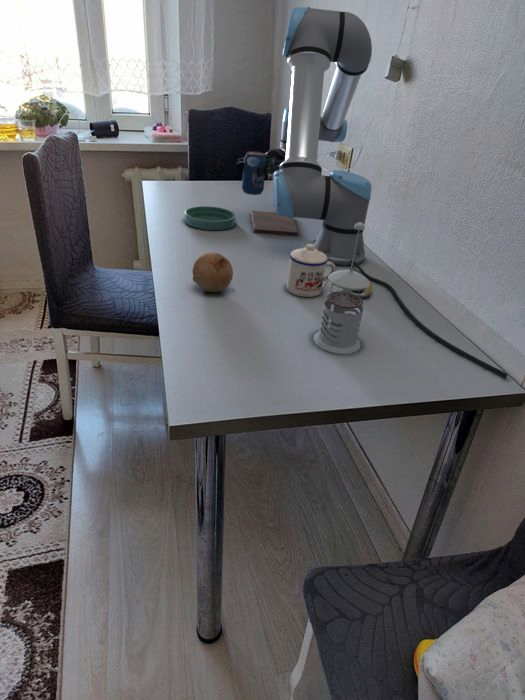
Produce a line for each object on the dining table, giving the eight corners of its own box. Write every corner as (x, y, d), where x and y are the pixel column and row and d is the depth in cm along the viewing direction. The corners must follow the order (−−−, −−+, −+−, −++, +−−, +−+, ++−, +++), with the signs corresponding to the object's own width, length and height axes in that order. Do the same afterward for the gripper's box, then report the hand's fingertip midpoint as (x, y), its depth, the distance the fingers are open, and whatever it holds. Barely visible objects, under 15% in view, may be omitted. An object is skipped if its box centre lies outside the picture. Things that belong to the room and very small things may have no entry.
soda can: (255, 196, 156) (258, 156, 149) (237, 192, 159) (239, 152, 152) (267, 193, 161) (271, 154, 155) (249, 188, 164) (252, 149, 158)
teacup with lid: (292, 298, 119) (298, 252, 113) (280, 282, 126) (286, 238, 120) (338, 297, 122) (347, 251, 116) (324, 281, 129) (332, 238, 123)
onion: (224, 305, 119) (239, 277, 112) (185, 295, 116) (198, 265, 109) (225, 277, 125) (239, 248, 118) (188, 266, 122) (201, 236, 115)
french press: (328, 357, 98) (352, 232, 85) (301, 328, 106) (318, 212, 93) (370, 350, 101) (398, 230, 88) (340, 323, 110) (362, 210, 97)
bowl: (235, 232, 156) (235, 223, 155) (182, 228, 155) (183, 219, 153) (234, 217, 170) (235, 208, 168) (186, 213, 168) (186, 204, 167)
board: (297, 236, 159) (298, 232, 158) (253, 232, 158) (254, 229, 157) (290, 217, 176) (291, 213, 175) (251, 214, 175) (251, 210, 174)
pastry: (348, 280, 131) (351, 267, 129) (373, 286, 129) (376, 272, 127) (342, 294, 123) (345, 280, 121) (369, 300, 122) (372, 286, 120)
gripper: (303, 176, 169) (275, 189, 150) (251, 166, 175) (218, 176, 157) (306, 153, 165) (277, 163, 147) (253, 143, 171) (219, 151, 153)
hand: (247, 170), depth 152 cm, fingers closed on soda can, 7 cm apart
